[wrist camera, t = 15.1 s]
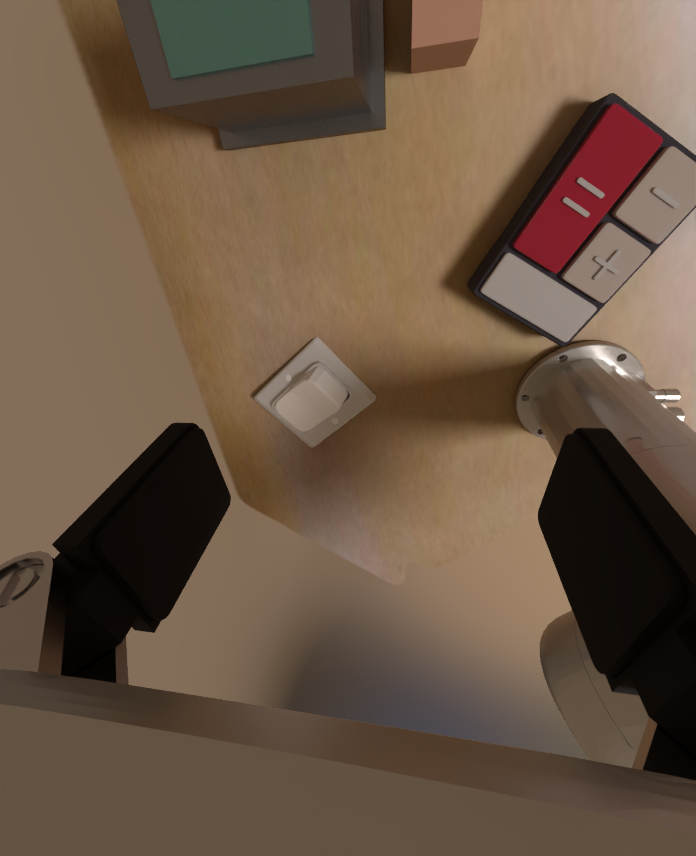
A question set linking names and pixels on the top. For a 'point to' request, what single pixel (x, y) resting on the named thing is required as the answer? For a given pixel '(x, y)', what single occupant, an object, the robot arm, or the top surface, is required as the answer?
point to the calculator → (589, 221)
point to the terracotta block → (443, 33)
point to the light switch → (314, 394)
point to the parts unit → (262, 65)
